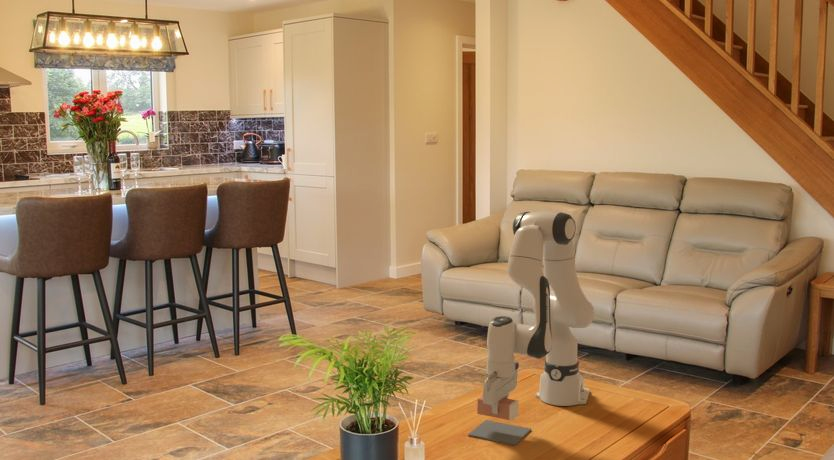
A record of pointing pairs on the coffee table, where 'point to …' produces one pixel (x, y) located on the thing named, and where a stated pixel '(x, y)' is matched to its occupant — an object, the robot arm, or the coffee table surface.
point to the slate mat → (500, 432)
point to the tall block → (506, 409)
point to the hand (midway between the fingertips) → (499, 410)
